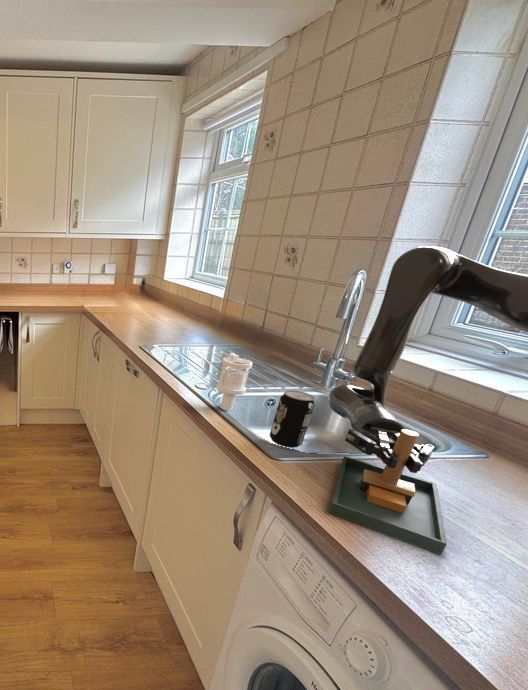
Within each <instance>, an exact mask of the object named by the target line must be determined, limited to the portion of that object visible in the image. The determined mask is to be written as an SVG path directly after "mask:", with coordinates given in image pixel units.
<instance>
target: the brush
mask: <svg viewBox="0 0 528 690" xmlns="http://www.w3.org/2000/svg"><path fill="white" fill-rule="evenodd" d="M419 437H420V434H419V433H418V432H416V431H414V430H410V429H405V430H401V432H400V434H399V436H398V438H397V441H396V443H395V445H394V448H393V450H392V451H393V452H394V453H395V454H396V456H397V457H398V462H397V464H396V466H395V468H389V467H388V466H387V464H385V467H383V468H384V471H383V473H382V474H380V473H376V472H373V471H370V470H366V469H364V471H363V476H362V479H361V481H360V489H363V490H366V491H367V490H368V488H369V485H371V486H374V487H378V488H381V489H384V490H387V491H390V492H394V493H397V494H400V495H403V496H405V500H406V504H409V503H410V501H411V498H412V497H414V495H415V486H414V484H413V483H410V482H406V481H403V480H400V476H401V474H403V472H404V470H405V468H406V466H405V465H406V463H407V461H408V459H409V457H410V455H411V452H412V450H413V448H414V446H415V444H416V445H417V442H418V439H419Z"/></svg>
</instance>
